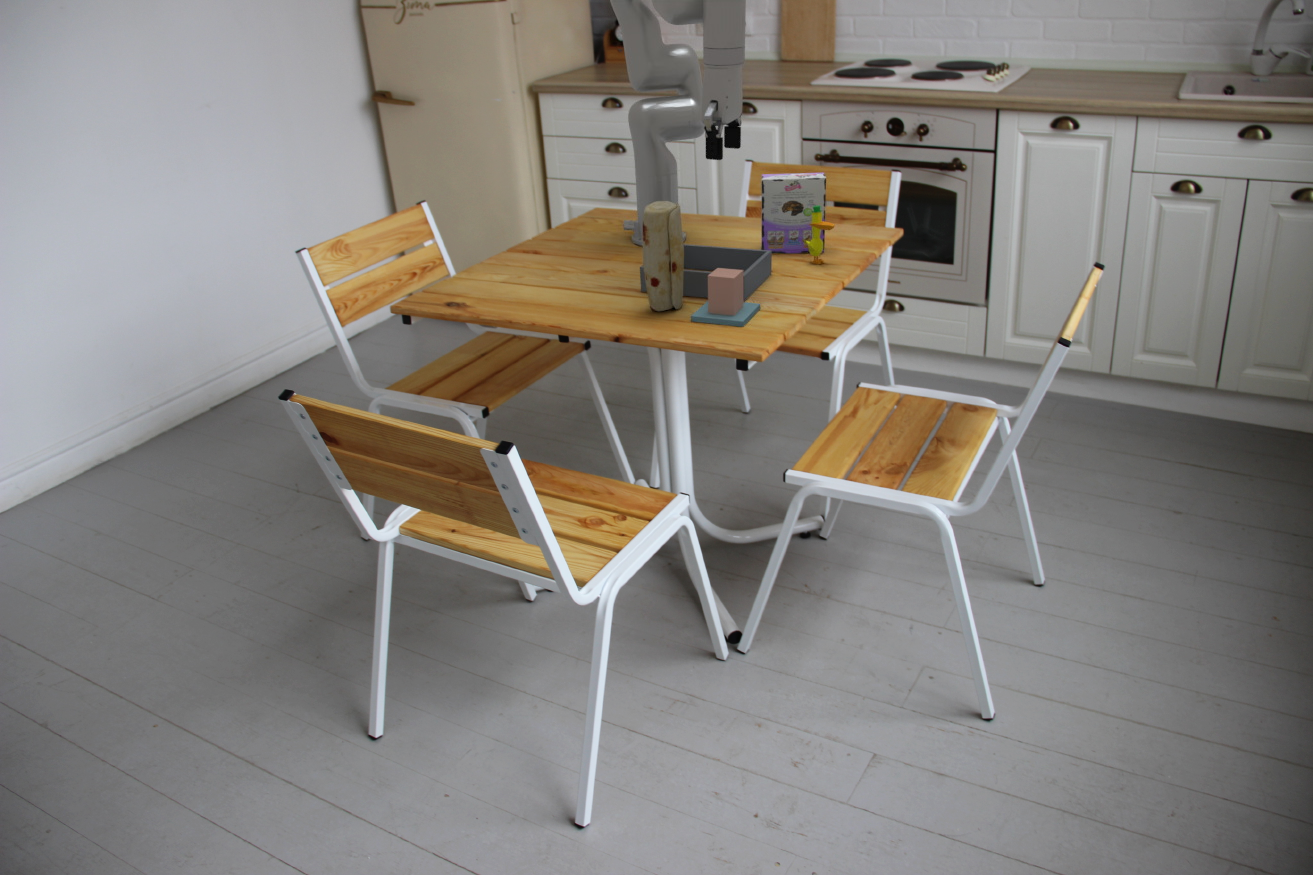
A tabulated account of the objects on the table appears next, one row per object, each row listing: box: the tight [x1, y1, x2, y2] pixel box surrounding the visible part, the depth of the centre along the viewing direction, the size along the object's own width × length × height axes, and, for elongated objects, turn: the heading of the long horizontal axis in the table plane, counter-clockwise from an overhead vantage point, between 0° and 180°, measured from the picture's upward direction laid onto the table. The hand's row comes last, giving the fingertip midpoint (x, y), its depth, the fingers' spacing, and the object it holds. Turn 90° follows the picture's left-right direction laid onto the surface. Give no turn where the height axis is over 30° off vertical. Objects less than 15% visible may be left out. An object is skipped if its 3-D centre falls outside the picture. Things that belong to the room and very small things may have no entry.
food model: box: [642, 201, 685, 312], centre depth 180 cm, size 10×7×20 cm
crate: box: [639, 243, 773, 302], centre depth 196 cm, size 22×18×5 cm
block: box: [707, 268, 744, 316], centre depth 177 cm, size 5×5×7 cm
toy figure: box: [806, 206, 836, 265], centre depth 203 cm, size 7×4×12 cm, turn 49°
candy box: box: [760, 172, 827, 254], centre depth 211 cm, size 14×6×16 cm, turn 84°
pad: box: [690, 300, 761, 328], centre depth 179 cm, size 10×10×1 cm
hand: (723, 153), depth 184 cm, fingers open, 9 cm apart
